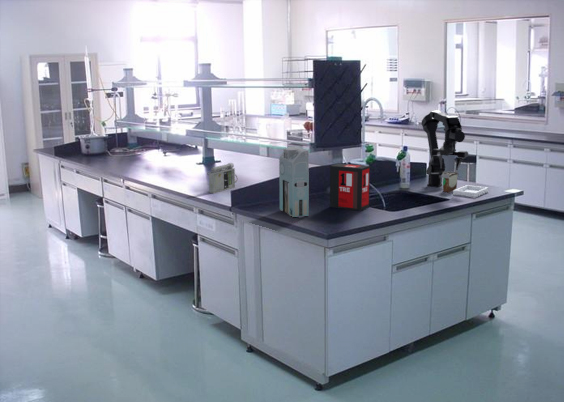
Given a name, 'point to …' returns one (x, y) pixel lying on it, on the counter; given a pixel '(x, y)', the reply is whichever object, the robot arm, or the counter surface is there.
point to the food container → (449, 181)
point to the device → (294, 181)
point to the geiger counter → (222, 178)
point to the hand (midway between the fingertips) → (448, 169)
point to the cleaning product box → (349, 186)
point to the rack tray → (470, 191)
